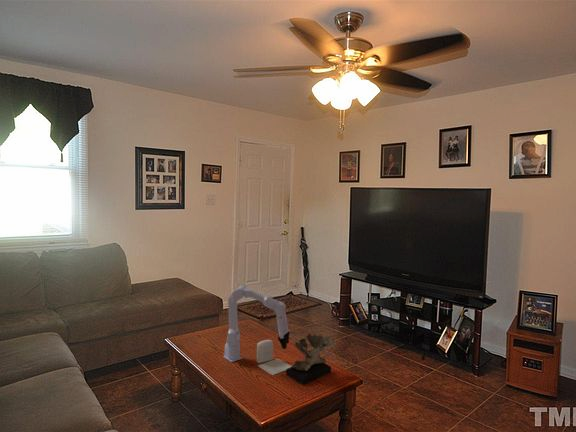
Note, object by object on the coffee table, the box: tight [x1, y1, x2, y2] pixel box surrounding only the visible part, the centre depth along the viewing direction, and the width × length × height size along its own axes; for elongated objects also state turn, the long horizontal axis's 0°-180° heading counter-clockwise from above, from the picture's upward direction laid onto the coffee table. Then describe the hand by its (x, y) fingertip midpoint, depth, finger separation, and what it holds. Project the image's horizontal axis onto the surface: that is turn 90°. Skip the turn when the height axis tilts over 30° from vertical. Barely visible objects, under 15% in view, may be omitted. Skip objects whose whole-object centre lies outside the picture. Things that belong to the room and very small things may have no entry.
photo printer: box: [256, 339, 274, 364], centre depth 223 cm, size 10×4×12 cm, turn 123°
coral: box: [285, 333, 335, 386], centre depth 207 cm, size 25×20×22 cm
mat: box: [257, 358, 293, 376], centre depth 216 cm, size 14×15×1 cm
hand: (285, 345), depth 220 cm, fingers open, 7 cm apart
